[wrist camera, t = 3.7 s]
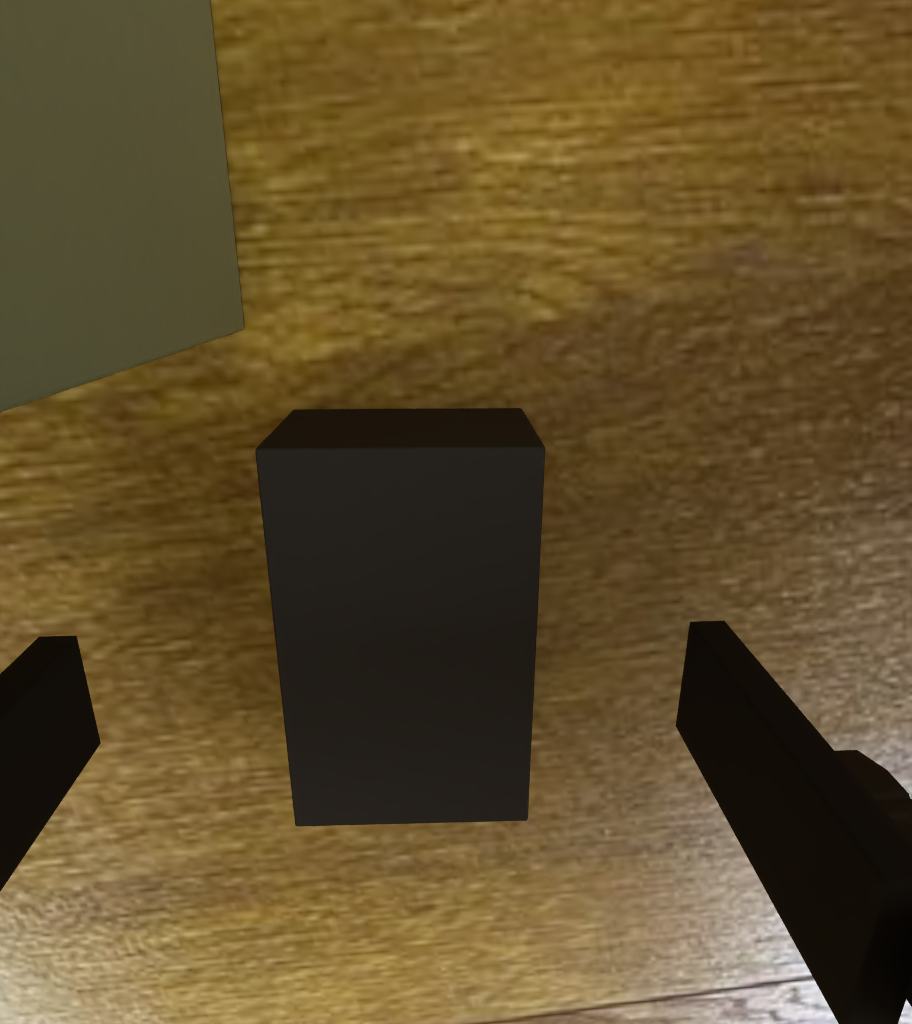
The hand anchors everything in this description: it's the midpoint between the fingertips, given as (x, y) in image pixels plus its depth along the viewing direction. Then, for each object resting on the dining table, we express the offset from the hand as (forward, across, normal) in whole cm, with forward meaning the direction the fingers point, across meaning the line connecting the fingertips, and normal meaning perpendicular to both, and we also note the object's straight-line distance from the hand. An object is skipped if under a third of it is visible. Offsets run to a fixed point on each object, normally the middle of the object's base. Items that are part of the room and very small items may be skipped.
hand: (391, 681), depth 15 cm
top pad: (+5, 0, 0) cm, 5 cm away
